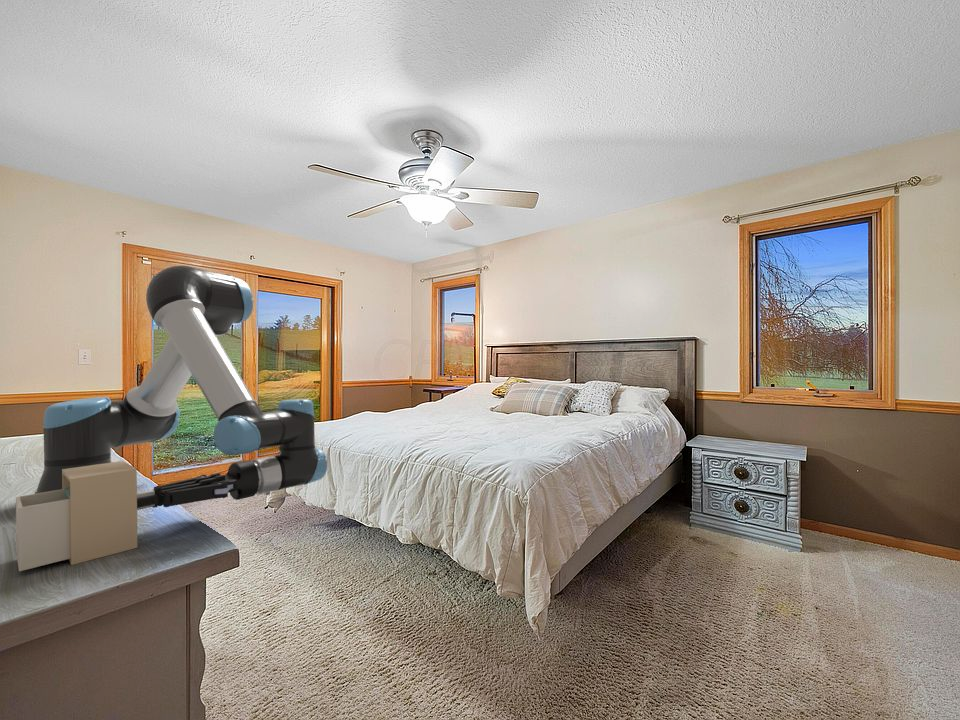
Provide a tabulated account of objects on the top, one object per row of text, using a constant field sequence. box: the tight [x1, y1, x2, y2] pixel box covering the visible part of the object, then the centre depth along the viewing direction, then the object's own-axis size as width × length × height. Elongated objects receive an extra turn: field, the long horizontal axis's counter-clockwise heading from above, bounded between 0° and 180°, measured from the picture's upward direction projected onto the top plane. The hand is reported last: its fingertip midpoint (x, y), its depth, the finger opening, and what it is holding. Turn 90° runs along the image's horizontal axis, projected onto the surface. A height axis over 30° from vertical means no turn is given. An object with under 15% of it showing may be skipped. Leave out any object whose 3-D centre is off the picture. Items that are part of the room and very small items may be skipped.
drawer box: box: [15, 488, 71, 572], centre depth 69 cm, size 10×9×9 cm
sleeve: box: [62, 460, 138, 566], centre depth 72 cm, size 8×11×13 cm
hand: (106, 507), depth 73 cm, fingers closed
